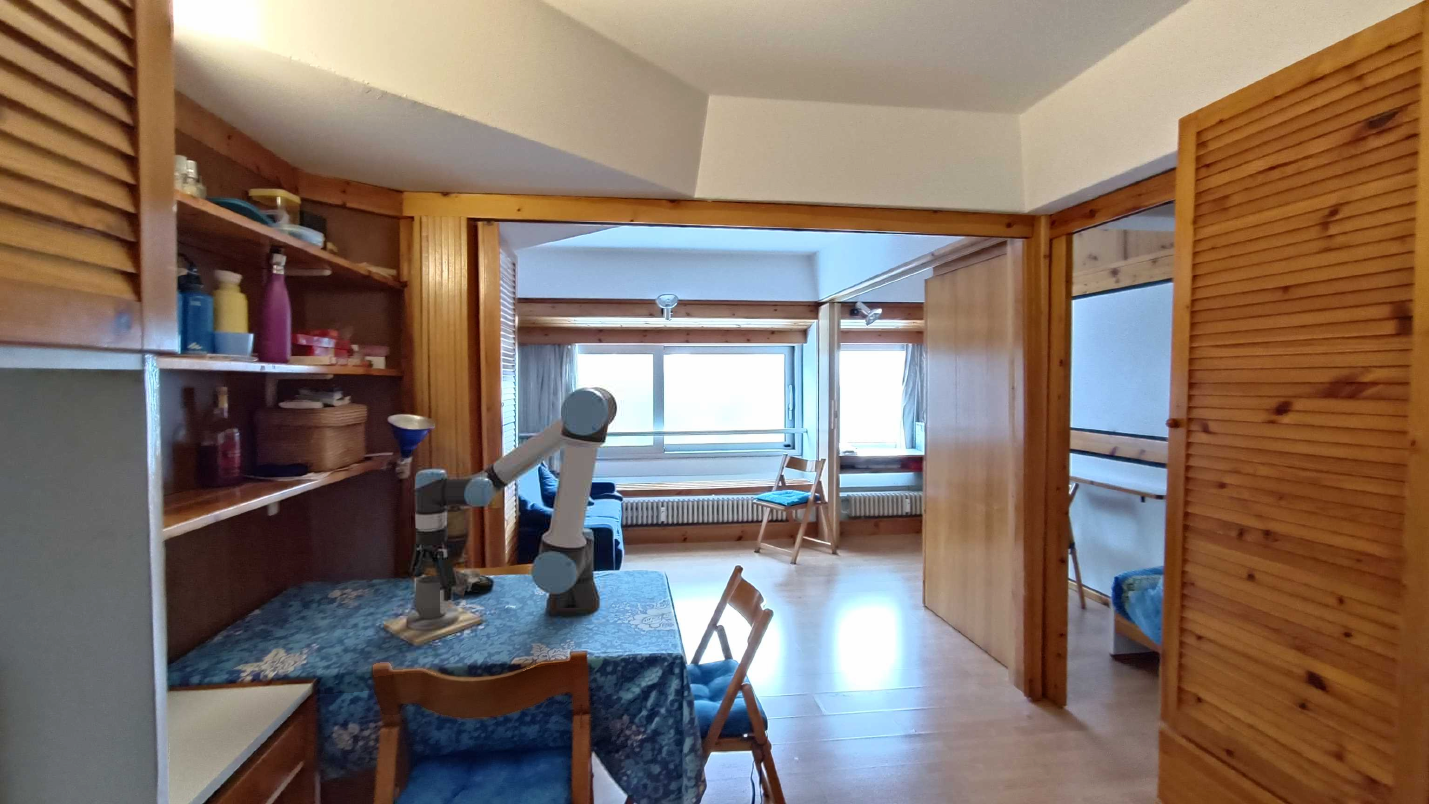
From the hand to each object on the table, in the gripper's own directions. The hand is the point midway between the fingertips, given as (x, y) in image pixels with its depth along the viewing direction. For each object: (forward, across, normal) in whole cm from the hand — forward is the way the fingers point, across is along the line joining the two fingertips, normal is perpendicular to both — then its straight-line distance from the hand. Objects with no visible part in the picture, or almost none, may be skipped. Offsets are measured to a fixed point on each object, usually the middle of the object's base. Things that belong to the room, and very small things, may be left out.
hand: (432, 606), depth 160 cm
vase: (+5, +48, -33) cm, 58 cm away
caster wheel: (+6, +15, -21) cm, 26 cm away
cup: (+3, 0, 0) cm, 3 cm away
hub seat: (+5, 0, 0) cm, 5 cm away
